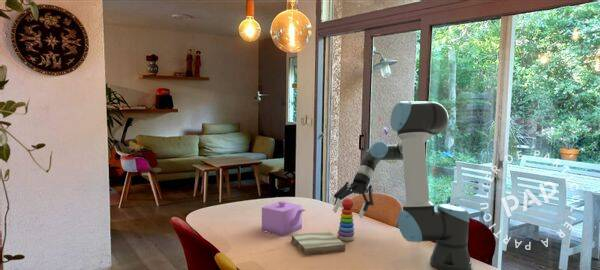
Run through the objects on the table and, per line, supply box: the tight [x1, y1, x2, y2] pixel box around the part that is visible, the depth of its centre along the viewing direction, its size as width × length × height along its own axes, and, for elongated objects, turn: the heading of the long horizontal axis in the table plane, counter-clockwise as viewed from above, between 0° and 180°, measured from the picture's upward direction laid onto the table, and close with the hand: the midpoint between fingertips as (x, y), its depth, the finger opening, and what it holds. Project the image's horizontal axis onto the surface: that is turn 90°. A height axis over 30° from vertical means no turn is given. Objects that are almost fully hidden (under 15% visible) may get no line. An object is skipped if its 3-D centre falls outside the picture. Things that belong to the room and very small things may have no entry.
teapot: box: [261, 200, 306, 237], centre depth 207 cm, size 15×25×14 cm, turn 54°
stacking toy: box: [336, 197, 356, 242], centre depth 195 cm, size 8×8×19 cm
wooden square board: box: [291, 230, 346, 256], centre depth 186 cm, size 18×18×3 cm
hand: (347, 213), depth 197 cm, fingers open, 13 cm apart
